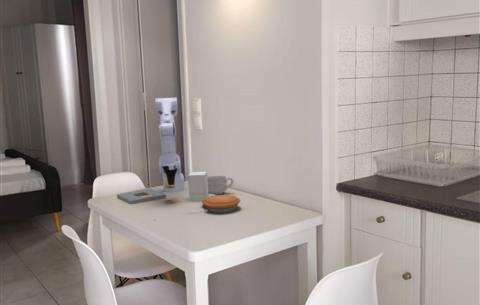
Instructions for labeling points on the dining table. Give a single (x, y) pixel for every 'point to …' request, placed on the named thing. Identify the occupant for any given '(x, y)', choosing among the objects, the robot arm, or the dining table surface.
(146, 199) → the hole board
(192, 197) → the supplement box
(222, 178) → the teacup
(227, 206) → the pie
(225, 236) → the dining table surface
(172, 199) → the tan flat square
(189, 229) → the dining table surface
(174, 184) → the brass peg
